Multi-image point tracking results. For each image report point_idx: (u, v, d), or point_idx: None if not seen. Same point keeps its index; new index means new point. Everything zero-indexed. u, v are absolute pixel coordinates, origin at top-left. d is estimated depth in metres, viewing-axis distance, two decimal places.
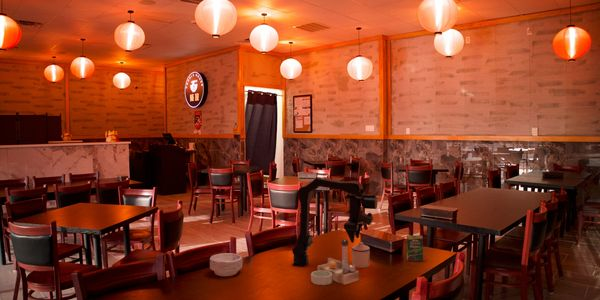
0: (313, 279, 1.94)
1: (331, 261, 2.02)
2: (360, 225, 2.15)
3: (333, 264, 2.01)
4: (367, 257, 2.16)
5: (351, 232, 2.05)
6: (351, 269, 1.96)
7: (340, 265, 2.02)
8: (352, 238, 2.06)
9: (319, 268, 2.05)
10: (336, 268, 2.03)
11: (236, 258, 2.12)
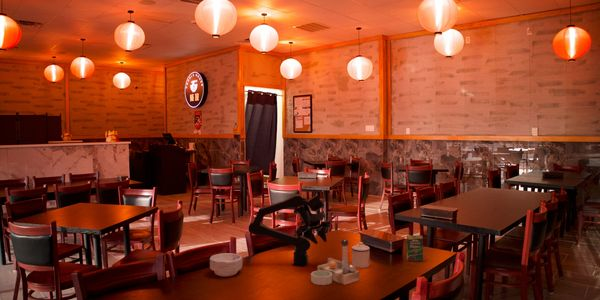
0: (313, 279, 1.94)
1: (331, 261, 2.02)
2: (322, 229, 2.16)
3: (333, 264, 2.01)
4: (367, 257, 2.16)
5: (310, 235, 2.11)
6: (351, 269, 1.96)
7: (340, 265, 2.02)
8: (313, 240, 2.10)
9: (319, 268, 2.05)
10: (336, 268, 2.03)
11: (236, 258, 2.12)
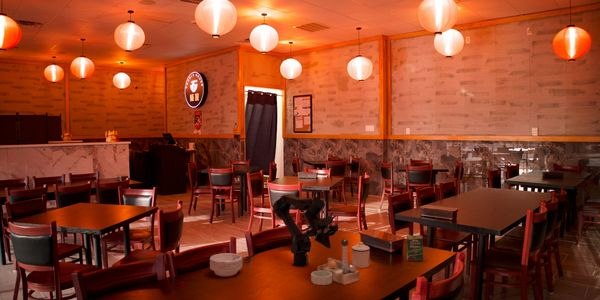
0: (313, 279, 1.94)
1: (331, 261, 2.02)
2: (325, 234, 2.06)
3: (333, 264, 2.01)
4: (367, 257, 2.16)
5: (321, 239, 2.05)
6: (351, 269, 1.96)
7: (340, 265, 2.02)
8: (325, 244, 2.03)
9: (319, 268, 2.05)
10: (336, 268, 2.03)
11: (236, 258, 2.12)
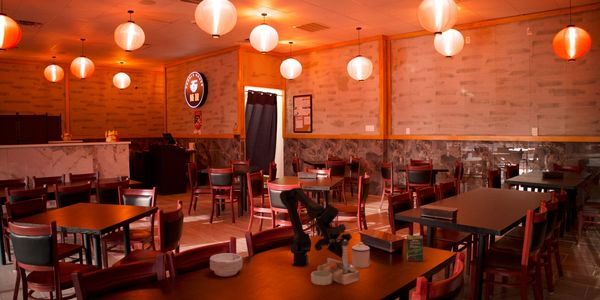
0: (313, 279, 1.94)
1: (331, 261, 2.02)
2: (338, 243, 1.99)
3: (333, 264, 2.01)
4: (367, 257, 2.16)
5: (334, 248, 1.98)
6: (351, 269, 1.96)
7: (340, 265, 2.02)
8: (338, 253, 1.96)
9: (319, 268, 2.05)
10: (336, 268, 2.03)
11: (236, 258, 2.12)
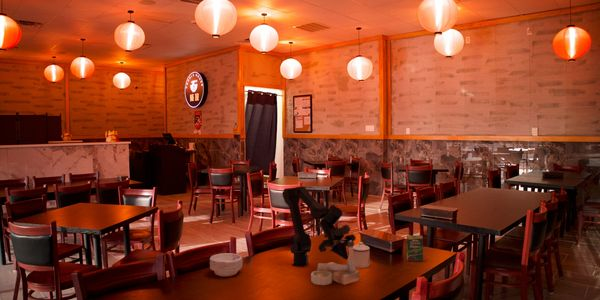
0: (313, 279, 1.94)
1: (322, 275, 1.95)
2: (342, 245, 1.97)
3: None
4: (367, 257, 2.16)
5: (338, 250, 1.96)
6: (353, 269, 1.96)
7: (337, 268, 1.98)
8: (342, 255, 1.94)
9: None
10: None
11: (236, 258, 2.12)
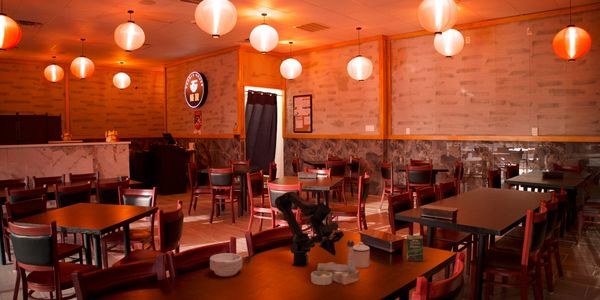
0: (313, 279, 1.94)
1: None
2: (330, 241, 2.03)
3: None
4: (367, 257, 2.16)
5: (327, 246, 2.02)
6: (353, 269, 1.96)
7: (337, 268, 1.98)
8: (331, 251, 2.00)
9: None
10: None
11: (236, 258, 2.12)
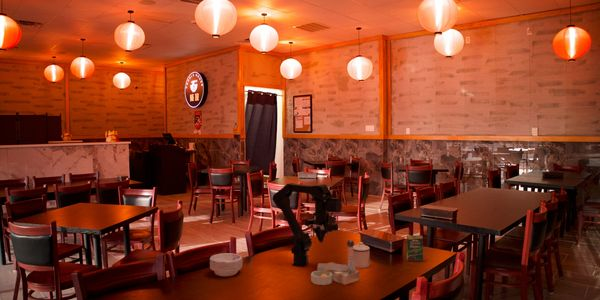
0: (313, 279, 1.94)
1: None
2: None
3: None
4: (367, 257, 2.16)
5: (322, 232, 2.13)
6: (353, 269, 1.96)
7: (337, 268, 1.98)
8: (322, 238, 2.13)
9: None
10: None
11: (236, 258, 2.12)
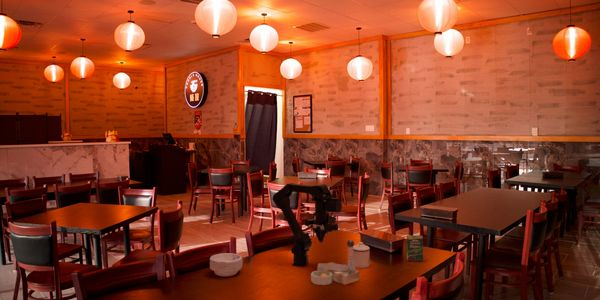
0: (313, 279, 1.94)
1: None
2: None
3: None
4: (367, 257, 2.16)
5: (322, 232, 2.13)
6: (353, 269, 1.96)
7: (337, 268, 1.98)
8: (322, 238, 2.13)
9: None
10: None
11: (236, 258, 2.12)
